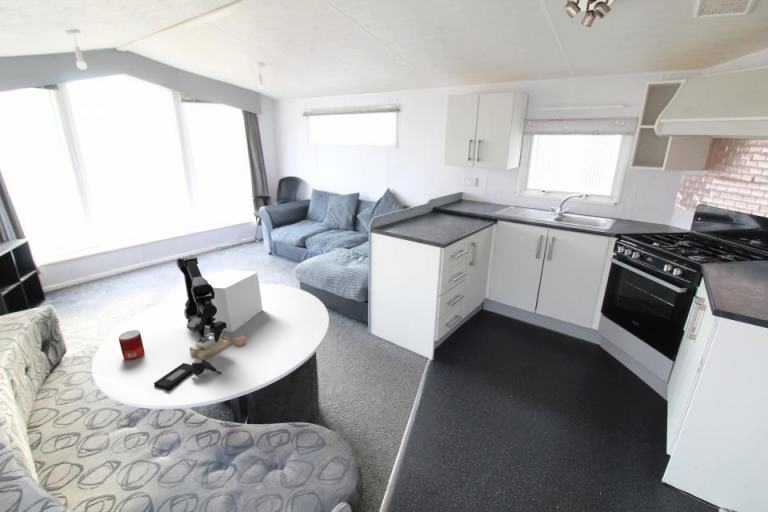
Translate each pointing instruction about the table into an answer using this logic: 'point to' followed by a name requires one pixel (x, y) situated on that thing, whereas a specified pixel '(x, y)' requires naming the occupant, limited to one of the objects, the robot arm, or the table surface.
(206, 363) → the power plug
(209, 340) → the housing
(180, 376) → the vhs tape
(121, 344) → the canned food
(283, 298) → the table surface
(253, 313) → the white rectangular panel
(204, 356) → the stand
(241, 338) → the peach cylinder
